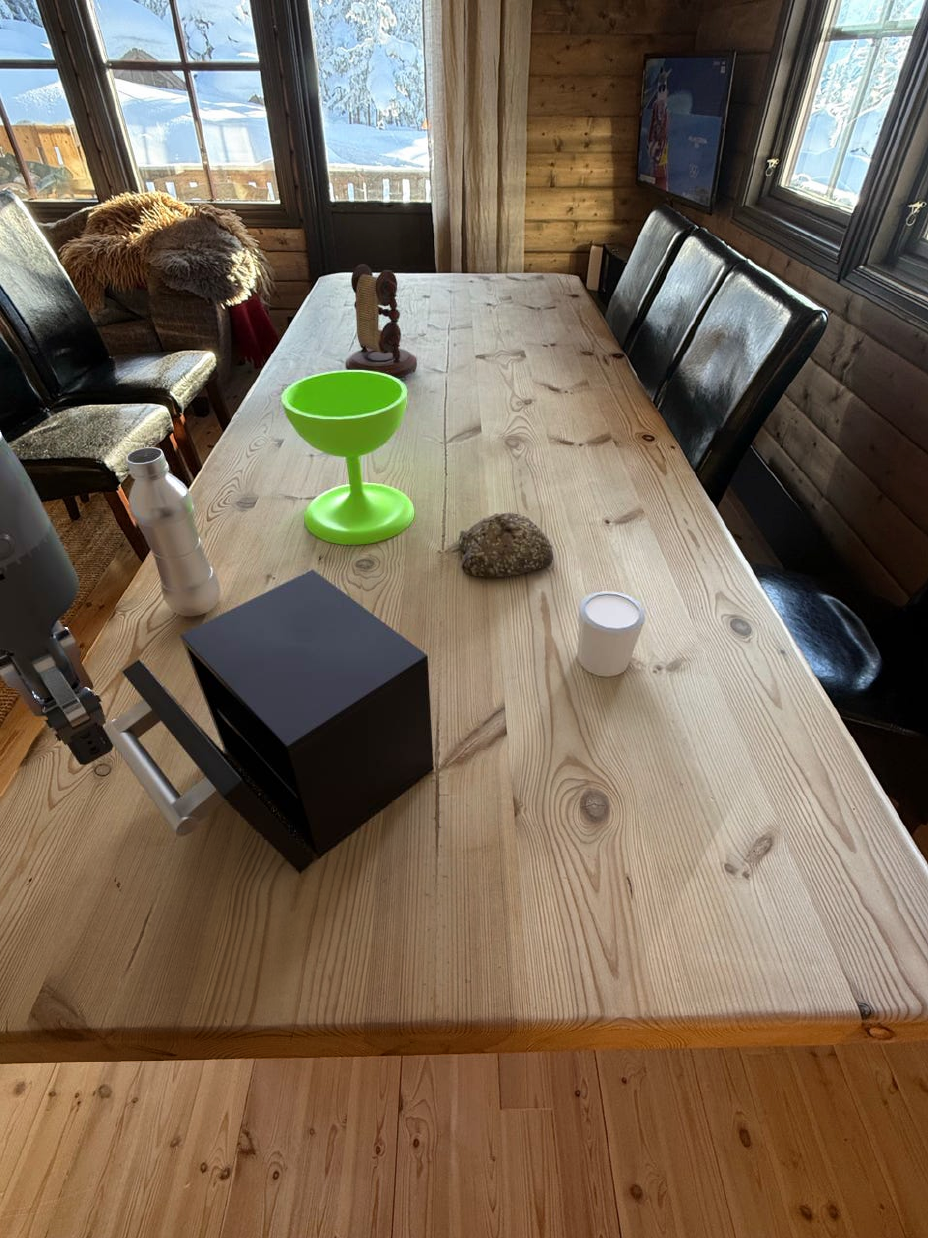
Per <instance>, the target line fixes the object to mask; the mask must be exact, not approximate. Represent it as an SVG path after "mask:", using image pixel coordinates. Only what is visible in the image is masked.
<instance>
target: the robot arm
mask: <svg viewBox="0 0 928 1238" xmlns="http://www.w3.org/2000/svg"><path fill="white" fill-rule="evenodd" d="M79 590H80V579H79V576H78V574H77V571H76V569H75V568H74V565H73V563H72V561H71V559H70V557H69V555H68V553H67V551H66V549H65V547H64V545H63V543H62V540H61V539H60V537H59V534H58V532H57V531H56V529H55V526H54V525H53V523H52V520H51V518H50V516H49V515H48V512H47V511H46V508H45V507H44V504H43V503H42V500H41V498H40V496H39V494H38V492H37V489H35V486H34V484H33V482H32V480H31V478H30V476H29V475H28V472H27V471H26V469H25V468H24V465H23V464H22V463H21V461H20V460H19V458H18V456H17V455H16V454H15V453H14V452H13V450H12V448H11V447H10V445H9V444H8V442H7V441H6V440H5V437H4V436H3V434H2V432H1V431H0V677H1V678H2V680H3V681H4V683H5V684H6V686H7V687H8V688H10V689H14V690H16V691H17V692H18V694H19V696H20V698H21V699H22V700H23V701H24V703H25V705H26V706H27V707H28V709H29V711H30V712H31V714H32V715H33V716H34V717H37V718H40V717H46V718H47V719H44V722H45V723H46V725H47V726H48V728H49V729H51V731H52V732H54V731H55V732H56V733H54V736H55V737H56V739H57V741H58V742H60V741H62V743H63V744H64V745H65V746H67V747H68V748H69V750H70V752H71V754H72V755H73V756H74V758H75V759H76V761H77V763H78V764H80V766H86V765H89V764H91V763H93V762H95V761H96V760H98V759H100V758H102V757H103V756H105V755H107V754H109V753H110V752H111V751H112V750H113V749H114V745H113V744H112V742H111V740H110V738H109V737H108V735H107V733H106V731H105V730H104V728H105V727H104V725H105V724H107V721H106V715H105V712H104V709H103V706H102V704H101V703H102V699H101V697H100V695H99V694H98V693H94V691H93V689H94V683H93V681H92V679H91V678H90V676H89V674H88V672H87V671H86V668H85V666H84V664H83V663H82V662H81V660H80V658H81V655H82V651H81V648H80V647H79V645H78V643H77V640H76V639H75V638H74V636H73V635H72V633H71V631H70V630H69V628H68V627H64V626H63V624H62V622H61V620H60V619H61V618H62V616H63V615H65V614H66V613H67V612H68V611H69V609H71V607H72V606H73V604H74V603H75V601H76V599H77V597H78V594H79Z"/></svg>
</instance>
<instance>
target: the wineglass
mask: <svg viewBox="0 0 928 1238" xmlns="http://www.w3.org/2000/svg"><path fill="white" fill-rule="evenodd" d="M407 402H408V389H407V385H406V383H404V382H403V380H402V381H401V379H399V378H398V377H397V378H395V377H393V376H391V375H388V374H384V373H380V372H374V371H366V370H346V369H342V370H332V371H326V372H321V373H316V374H313V375H308V376H307V377H303V378H301V379H299V380H296V381H294V382H293V383H291V384H290V385H288V386H287V387H286V388H285V389H284V390H283V392H282V394H281V404H282V407H283V410H284V413H285V416H286V418H287V420H288V421H289V423H290V424H291V426H292V427H293V429H294V430H295V432H296V433H297V434H298V436H299V437H300V438H301V439H303V440H304V441H305V442H306V443H307V444H309V446H310V447H313V448H315V449H316V450H317V451H320V452H323V453H326V454H328V455H331V456H334V457H339V458H345V461H346V468H347V478H348V483H347V484H343V485H339V486H336V487H333V488H331V489H328V490H326V491H324V492H322V493H321V494H319V495H318V496H316V497H315V498H314V499H313V500H312V501H311V502H310V503H309V504H308V505H307V507H306V511H305V513H304V517H303V518H304V525H305V528H307V530H308V532H310V533H311V534H312V535H313V536H315V537H316V538H318V539H320V540H323V541H325V542H328V543H331V544H332V543H333V544H338V545H344V546H346V545H347V546H359V545H360V546H362V545H369V544H376V543H378V542H382V541H386V540H388V539H390V538H393V537H394V536H397V535H400V533H402V532H403V531H404V530H405V529H407V528H409V526H410V525H411V523H412V522H413V520H414V517H415V513H416V512H415V508H414V504H413V501H411V499H410V498H409V497H408V495H406V493H404V492H402V491H400V490H399V489H397V488H395V487H392V486H389V485H386V484H381V483H375V482H363V481H364V480H363V472H362V463H361V456H366V455H368V454H371V453H373V452H374V451H376V450H378V449H379V448H380V447H382V446H383V445H386V443H388V442H389V441H390V440H391V439H392V437H393V436H394V434H395V433H396V432H397V431H398V429H399V428H400V426H401V424H402V421H403V418H404V415H405V412H406V409H407V405H408V404H407Z"/></svg>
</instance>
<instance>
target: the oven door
mask: <svg viewBox="0 0 928 1238" xmlns="http://www.w3.org/2000/svg"><path fill="white" fill-rule="evenodd" d="M121 673H122V674H123V676H124V677H125V678H126V680H128V682H129V683H130V685H132V687H133V688H134V689H135V691H136V692H137V693H138V694H139V696H140V697H141V698H142V699H141V700H140V701H138V702H137V703H136V704H135V705H133V706H132V707H130V708H129V709H128V710H126V711H125V712H124V713H123V714H120V715H119V716H118V717H117V718H114V719H112V720H109V721H108V722H106V723H105V724H106V725H105V726H104V727H103V728H104V730H105V731H106V733H107V735H108V737H109V738H110V740H111V742H112V744H113V748H114V749H115V750H116V751H117V753H118V754H119V756H120V757H121V759H122V760H123V761H124V763H125V764H126V765H127V767H128V769H130V771H131V772H132V774H133V775H134V777H135V778H136V779H137V781H138V782H139V784H140V785H141V786H142V788H143V790H145V792H146V794H147V795H148V796H149V798H150V799H151V800H152V802H153V803H154V805H155V806H156V808H157V809H158V810H159V812H160V813H161V816H163V818H164V819H165V820H166V822H167V823H168V825H169V826H170V827H171V829H172V830H173V832H174V833H175V835H176V836H178V837H185V836H187V835H189V834H191V833H193V831H195V829H196V828H197V827H198V825H199V824H200V822H202V821H203V820H204V819H205V818H207V817H208V816H209V815H210V814H211V813H212V812H214V810H216V809H217V808H219V806H221V805H222V804H223V803H224V802H227V804H228V805H229V806H230V807H231V808H232V809H233V810H234V811H235V812H236V813H237V814H238V815H239V816H240V817H241V818H242V819H243V820H245V822H246V823H247V824H248V825H249V826H250V827H252V829H253V830H255V832H256V833H258V835H259V836H261V838H262V839H264V840H265V842H267V844H269V845H270V846H271V847H272V848H273V849H274V850H275V851H276V852H277V853H278V854H279V855H280V856H281V857H282V858H283V859H284V860H285V861H286V862H287V863H288V864H289V865H290V866H291V867H292V868H293V869H294V870H296V872H297V873H298V874H302V873H303V872H304V871H305V870H306V869H307V868H308V867H309V866H310V865H311V864H312V863H313V862H314V861H315V857H314V856H313V855H312V853H310V852H309V850H308V849H307V847H306V846H304V845H303V843H302V842H301V841H300V840H299V839H298V837H296V835H295V834H294V833H293V832H292V830H290V828H289V827H288V826H287V825H286V823H285V822H284V821H283V820H282V819H281V818H280V817H279V815H278V814H277V813H276V812H275V810H274V809H273V808H272V807H271V806H270V805H269V804H268V803H267V801H266V800H265V799H264V797H262V795H261V794H260V793H259V792H258V791H257V790H256V788H255V787H254V786H253V785H252V784H251V783H250V782H249V780H248V779H247V778H246V776H244V775H243V773H242V772H241V771H240V770H239V769H238V767H237V766H235V764H234V763H233V762H232V760H230V758H229V757H228V755H226V753H225V752H223V749H221V748H220V746H218V744H217V743H215V741H214V740H213V739H212V738H211V736H210V735H209V734H208V733H207V732H206V731H205V730H204V729H203V728H202V727H201V725H199V723H198V722H197V721H196V720H195V719H194V717H192V716H191V714H189V713H190V712H188V711H187V710H186V709H185V708H184V707H183V706H182V704H181V703H180V702H179V701H178V700H177V699H176V698H175V697H174V695H173V694H172V693H171V692H170V691H169V690H168V689H167V688H166V687H165V685H164V684H163V683H162V682H161V681H160V680H159V678H157V677H156V676H155V674H154V673H153V672H152V671H151V669H149V668H148V667H147V665H146V664H145V663H144V662H143V661H142V660H141V659H140V658H138V659H137V660H135V661H134V662H133V663H131V664H130V665H128V666H127V667H125V668H124V669H123V670H122V671H121ZM160 722H161V723H162V724H163V725H164V726H165V728H166V729H167V730H168V732H169V733H170V734H171V735H172V737H173V738H174V739H175V740H176V742H178V744H179V745H180V746H181V748H182V749H183V750H184V752H185V753H186V754H187V755H188V756H189V757H190V759H191V760H192V762H194V764H195V765H196V766H197V767H198V769H199V770H200V771H201V773H203V775H204V777H202V778H201V779H200V780H199V781H198V782H196V783H195V784H194V785H193V786H192V787H190V788H189V789H188V790H186V791H185V792H184V793H183V794H182V795H181V794H180V793H179V792H178V790H177V789H176V787H175V786H174V785H173V783H172V781H170V780H169V778H168V777H167V776H166V774H165V773H164V772H163V770H162V768H160V766H159V765H158V763H157V762H156V761H155V760H154V758H153V757H152V756H151V754H150V753H149V751H148V750H147V748H146V747H145V746H144V744H142V742H141V741H140V738H141V737H142V736H144V735H145V734H146V733H148V731H150V730H151V729H152V728H154V727H156V725H158V724H159V723H160Z"/></svg>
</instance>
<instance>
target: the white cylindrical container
mask: <svg viewBox="0 0 928 1238" xmlns="http://www.w3.org/2000/svg"><path fill="white" fill-rule="evenodd" d="M578 609H579V611H578V636H577V639H578V640H577V660H578V663H579V664H580V666H581V667H582V668H583V669H584V670H585V671H587V672H588V673H589V674H593V675H595V676H597V677H598V676H599V677H606V678H609V677H610V678H611V677H614V676H619V675H620V674H622V673H624V672H625V671H626V669H627V668H628V666H629V665H630V662H631V659H632V656H633V653H634V651H635V648H636V645H637V643H638V640H639V638H640V635H641V632H642V629H643V626H644V624H645V621H646V610H645V609H644V607H643V606H642V605H641V603H640V602H639V601H637V600H636V599H635V598H634V597H632V596H631V595H627V594H624V593H622V592H619V591H611V590H601V591H596V592H593V593H591V594H588V595H586V596H584V598H583V599H582V600H581V601H580V603H579V607H578Z"/></svg>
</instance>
